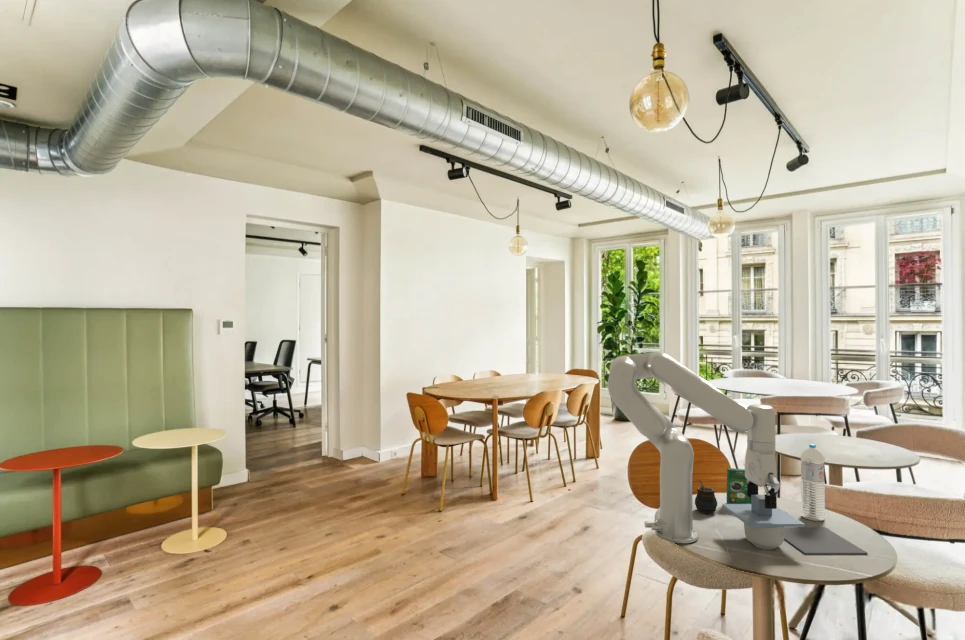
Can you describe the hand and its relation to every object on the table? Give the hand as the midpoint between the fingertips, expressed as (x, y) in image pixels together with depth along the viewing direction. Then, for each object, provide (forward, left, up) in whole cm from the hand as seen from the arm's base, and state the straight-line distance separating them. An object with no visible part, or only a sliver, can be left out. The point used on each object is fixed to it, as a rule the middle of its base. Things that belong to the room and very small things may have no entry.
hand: (761, 502), depth 152 cm
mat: (+17, +1, -12) cm, 21 cm away
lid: (0, 0, -4) cm, 4 cm away
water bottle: (+28, +19, -12) cm, 36 cm away
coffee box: (+9, +31, -12) cm, 35 cm away
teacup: (0, 0, -12) cm, 12 cm away
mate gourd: (-6, +25, -12) cm, 29 cm away
